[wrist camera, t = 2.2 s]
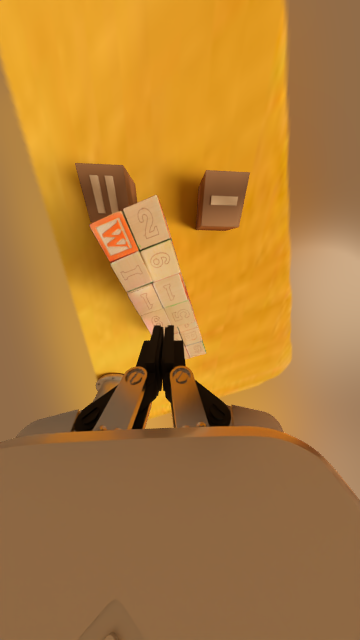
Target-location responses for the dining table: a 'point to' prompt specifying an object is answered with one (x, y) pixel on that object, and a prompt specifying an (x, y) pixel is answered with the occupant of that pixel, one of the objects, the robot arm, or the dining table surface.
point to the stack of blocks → (150, 269)
